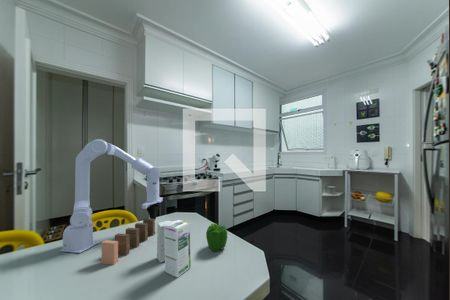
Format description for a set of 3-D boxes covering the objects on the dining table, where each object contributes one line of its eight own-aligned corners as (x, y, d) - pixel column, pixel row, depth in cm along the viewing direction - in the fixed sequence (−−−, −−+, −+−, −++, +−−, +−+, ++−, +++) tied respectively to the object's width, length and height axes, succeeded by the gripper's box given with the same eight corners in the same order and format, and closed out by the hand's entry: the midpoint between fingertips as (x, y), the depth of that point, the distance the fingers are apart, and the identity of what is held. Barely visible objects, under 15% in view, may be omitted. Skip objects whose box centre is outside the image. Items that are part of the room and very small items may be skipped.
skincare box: (159, 263, 59) (159, 226, 60) (156, 257, 63) (156, 222, 63) (177, 257, 63) (177, 222, 63) (173, 251, 66) (173, 219, 67)
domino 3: (136, 247, 70) (136, 230, 70) (125, 246, 71) (125, 229, 71) (139, 245, 71) (139, 228, 72) (128, 245, 72) (128, 227, 73)
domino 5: (152, 235, 81) (152, 220, 81) (143, 234, 81) (143, 219, 82) (154, 234, 82) (154, 219, 82) (145, 233, 83) (145, 218, 83)
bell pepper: (221, 241, 74) (221, 217, 75) (231, 250, 67) (230, 223, 67) (202, 245, 70) (202, 220, 71) (210, 256, 63) (210, 227, 64)
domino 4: (145, 241, 75) (145, 224, 75) (134, 240, 76) (134, 224, 76) (147, 239, 77) (147, 223, 77) (137, 238, 78) (137, 222, 78)
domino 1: (114, 264, 59) (114, 243, 59) (101, 263, 60) (101, 242, 60) (117, 261, 61) (118, 241, 61) (105, 260, 61) (105, 240, 62)
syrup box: (177, 278, 52) (177, 228, 52) (164, 271, 55) (164, 224, 55) (191, 267, 56) (190, 222, 57) (178, 262, 60) (177, 218, 60)
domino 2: (126, 255, 64) (126, 236, 65) (114, 254, 65) (114, 235, 66) (129, 253, 66) (129, 234, 66) (117, 252, 67) (118, 233, 67)
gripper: (151, 194, 79) (151, 225, 78) (168, 189, 93) (168, 215, 93) (137, 194, 80) (137, 224, 80) (155, 188, 94) (155, 214, 94)
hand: (153, 219), depth 86 cm, fingers closed
